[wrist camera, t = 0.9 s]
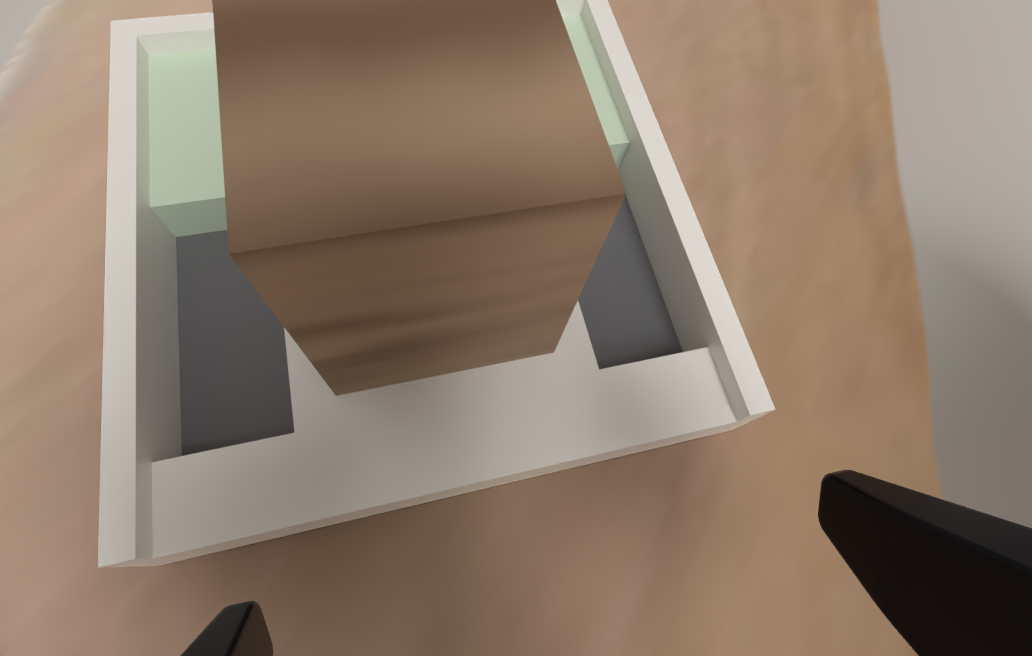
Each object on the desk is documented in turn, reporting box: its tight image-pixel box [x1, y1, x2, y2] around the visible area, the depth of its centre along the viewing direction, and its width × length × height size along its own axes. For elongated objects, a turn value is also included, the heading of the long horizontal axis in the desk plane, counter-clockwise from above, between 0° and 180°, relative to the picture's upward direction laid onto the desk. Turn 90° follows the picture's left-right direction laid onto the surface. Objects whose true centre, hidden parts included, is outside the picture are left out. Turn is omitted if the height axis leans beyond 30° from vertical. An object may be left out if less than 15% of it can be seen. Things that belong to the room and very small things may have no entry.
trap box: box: [98, 0, 775, 567], centre depth 24 cm, size 22×22×4 cm
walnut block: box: [212, 0, 626, 396], centre depth 17 cm, size 8×8×10 cm
